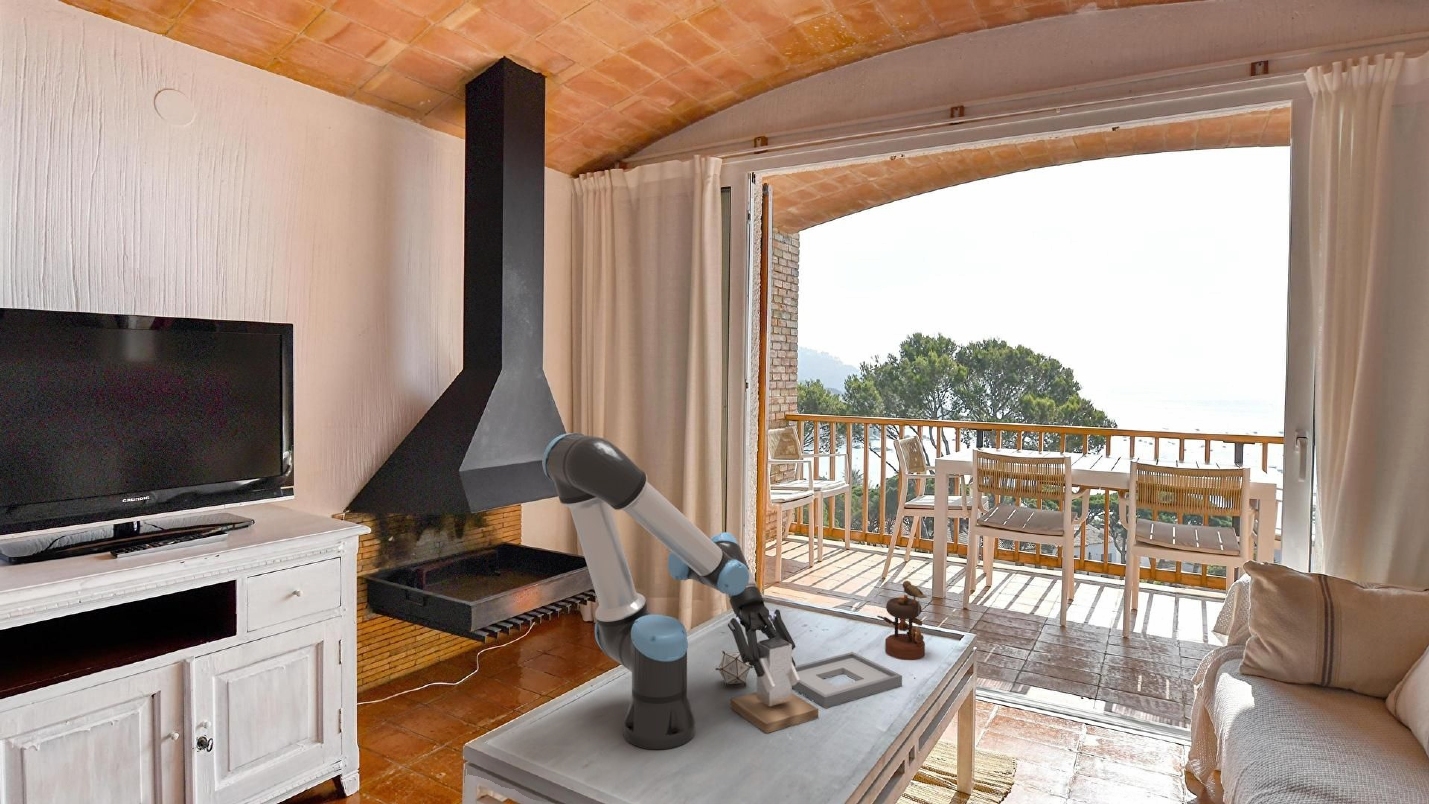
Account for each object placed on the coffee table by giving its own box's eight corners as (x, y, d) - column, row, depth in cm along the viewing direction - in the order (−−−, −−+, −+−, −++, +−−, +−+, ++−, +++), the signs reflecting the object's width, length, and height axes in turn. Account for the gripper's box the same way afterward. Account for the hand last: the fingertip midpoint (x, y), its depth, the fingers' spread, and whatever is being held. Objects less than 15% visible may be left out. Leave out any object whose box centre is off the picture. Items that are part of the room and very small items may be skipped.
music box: (938, 654, 204) (936, 582, 202) (916, 668, 197) (914, 594, 195) (890, 639, 215) (888, 571, 213) (867, 652, 208) (865, 581, 206)
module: (769, 706, 165) (769, 647, 164) (756, 697, 169) (756, 640, 169) (791, 700, 168) (791, 642, 168) (778, 692, 172) (778, 636, 172)
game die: (738, 702, 183) (744, 679, 176) (708, 685, 185) (712, 662, 179) (754, 673, 189) (760, 650, 183) (724, 657, 192) (729, 634, 185)
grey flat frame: (825, 708, 171) (825, 697, 171) (778, 680, 187) (778, 670, 186) (901, 685, 184) (902, 675, 183) (852, 661, 199) (852, 651, 199)
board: (766, 733, 159) (766, 724, 159) (730, 707, 171) (730, 699, 171) (818, 717, 166) (818, 708, 166) (780, 694, 178) (780, 686, 178)
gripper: (769, 595, 186) (810, 684, 173) (702, 607, 176) (740, 703, 163) (782, 579, 181) (825, 669, 168) (714, 591, 171) (754, 687, 158)
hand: (783, 685), depth 165 cm, fingers closed on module, 6 cm apart
